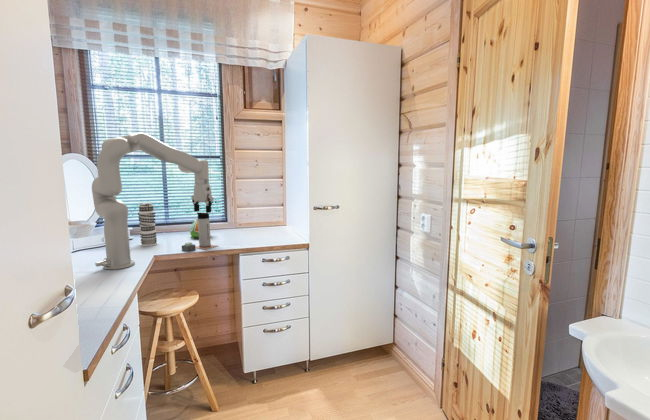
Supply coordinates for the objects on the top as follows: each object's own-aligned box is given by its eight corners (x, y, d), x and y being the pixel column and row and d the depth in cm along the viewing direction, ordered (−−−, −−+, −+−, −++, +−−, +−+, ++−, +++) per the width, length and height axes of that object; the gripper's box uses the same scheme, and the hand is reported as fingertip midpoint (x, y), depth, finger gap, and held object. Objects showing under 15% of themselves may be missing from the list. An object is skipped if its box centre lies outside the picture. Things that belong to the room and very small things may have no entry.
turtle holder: (208, 233, 233) (207, 216, 231) (211, 238, 216) (210, 220, 215) (189, 235, 227) (187, 217, 226) (191, 240, 211) (190, 221, 209)
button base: (188, 252, 183) (187, 246, 183) (182, 250, 186) (181, 245, 185) (195, 250, 187) (195, 244, 187) (189, 248, 190) (189, 243, 189)
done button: (188, 247, 184) (187, 244, 183) (183, 246, 186) (183, 243, 185) (193, 246, 187) (193, 242, 187) (189, 245, 189) (188, 242, 188)
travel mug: (198, 245, 196) (196, 212, 193) (210, 244, 198) (208, 211, 195) (198, 248, 190) (196, 213, 187) (211, 247, 192) (209, 212, 190)
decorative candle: (150, 246, 196) (147, 204, 192) (136, 246, 197) (133, 204, 194) (161, 243, 204) (158, 202, 201) (147, 242, 206) (144, 202, 203)
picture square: (204, 249, 187) (204, 249, 187) (192, 247, 192) (192, 247, 192) (218, 246, 196) (218, 245, 196) (206, 244, 201) (206, 243, 201)
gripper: (217, 182, 188) (218, 212, 190) (196, 181, 196) (197, 210, 198) (207, 182, 181) (208, 213, 183) (185, 181, 190) (186, 211, 192)
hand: (202, 212), depth 191 cm, fingers open, 9 cm apart
